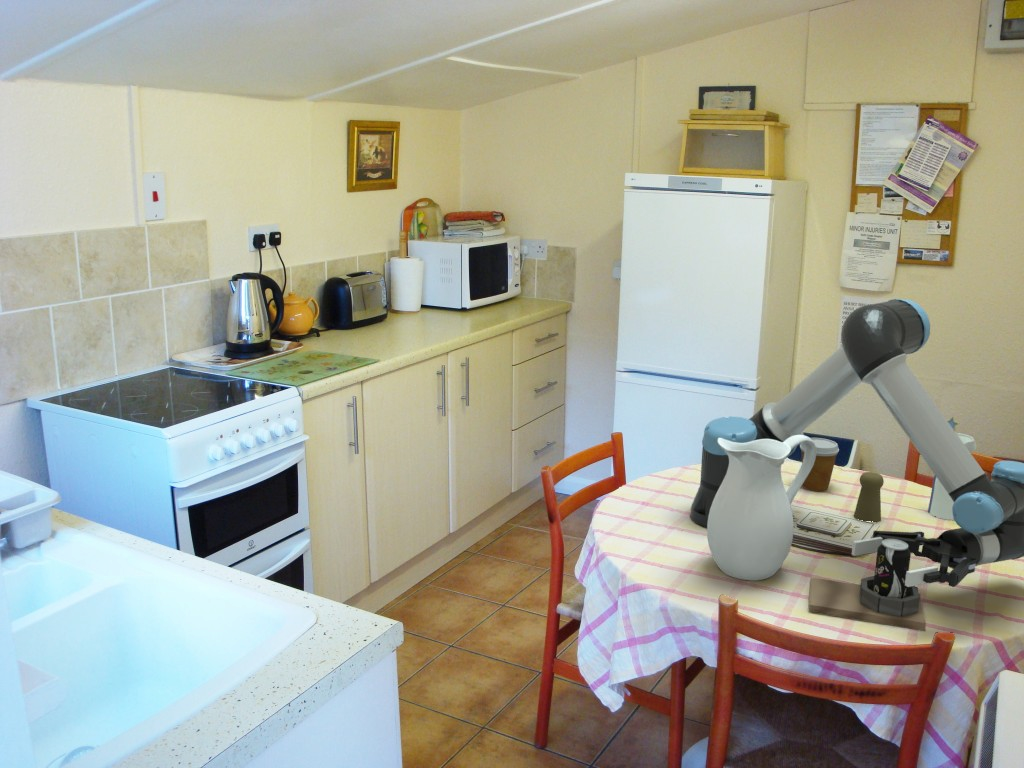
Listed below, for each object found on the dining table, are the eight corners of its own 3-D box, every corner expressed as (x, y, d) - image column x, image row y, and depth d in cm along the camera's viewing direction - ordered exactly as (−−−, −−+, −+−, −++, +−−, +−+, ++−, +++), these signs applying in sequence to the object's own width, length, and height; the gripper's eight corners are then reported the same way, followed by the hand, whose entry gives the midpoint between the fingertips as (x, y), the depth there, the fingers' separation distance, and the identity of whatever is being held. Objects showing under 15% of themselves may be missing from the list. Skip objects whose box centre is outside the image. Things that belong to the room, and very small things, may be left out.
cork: (876, 513, 218) (882, 469, 216) (884, 523, 213) (889, 478, 210) (850, 512, 219) (855, 468, 216) (857, 522, 213) (862, 477, 210)
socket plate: (808, 611, 171) (810, 589, 170) (810, 584, 182) (812, 563, 181) (924, 630, 165) (927, 607, 163) (919, 600, 176) (921, 579, 174)
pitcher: (737, 594, 177) (749, 457, 170) (688, 559, 192) (696, 432, 185) (833, 573, 187) (848, 443, 180) (779, 541, 202) (790, 420, 195)
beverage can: (901, 612, 168) (908, 552, 165) (868, 604, 171) (875, 545, 168) (906, 600, 172) (914, 541, 169) (875, 592, 175) (882, 534, 172)
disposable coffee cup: (834, 483, 238) (839, 439, 235) (834, 496, 229) (839, 450, 226) (796, 479, 241) (801, 435, 238) (795, 491, 232) (799, 446, 229)
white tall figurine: (968, 523, 213) (983, 420, 207) (928, 517, 216) (941, 416, 210) (964, 510, 221) (978, 411, 215) (925, 505, 224) (939, 407, 217)
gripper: (1019, 593, 165) (929, 613, 158) (915, 540, 188) (831, 554, 181) (1026, 555, 164) (934, 573, 156) (919, 506, 186) (835, 519, 179)
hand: (879, 563), depth 168 cm, fingers open, 13 cm apart
